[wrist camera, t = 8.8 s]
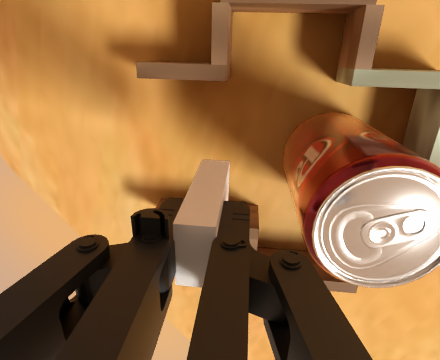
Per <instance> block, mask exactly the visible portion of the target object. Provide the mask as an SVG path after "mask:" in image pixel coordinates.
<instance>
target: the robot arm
mask: <svg viewBox="0 0 440 360" xmlns="http://www.w3.org/2000/svg"><path fill="white" fill-rule="evenodd" d="M229 170H230V161H223V160H206V159H202V161H201V163H200V166H199V168H198V170H197V172H196V174H195V176H194V179H193V181H192V183H191V185H190V187H189V190H188V192H187V194H186V196H185V198H184V199H182V198H168V199H167V200H165V201H164V202H162V203H161V205H160V207H159V209H156V208H150V209H143V210H140V211H138V212H135V213H134V214H133V215H132V216H131V223H132V232H133V237H132V239H131V240H130V242H128V243H123V244H116V245H109V242H108V240H107V238H106V237H104V236H102V235H86V236H83V237H80V238H78V239H76V240H74V241H72V242H71V243H70V244H68V245H67V246H65V247H64V248H63V249H61V250H60V251H59V252H57V253H56V254H54V255H53V256H52V257H50V258H49V259H48V260H46V261H45V262H43V263H42V264H41V265H39V266H38V267H37V268H35V269H34V270H32V271H31V272H30V273H28V274H27V275H26V276H25V277H23V278H22V279H20V280H19V281H18V282H16V283H15V284H13V285H12V286H11V287H9V288H8V289H6V290H5V291H4V292H2V293H1V294H0V360H151V359H152V356H153V353H154V350H155V347H156V344H157V341H158V337H159V334H160V331H161V328H162V325H163V322H164V319H165V316H166V313H167V310H168V307H169V304H170V301H171V297H172V282H173V279H174V276H175V284H176V285H182V286H192V287H202V291H201V296H200V301H199V305H198V310H197V314H196V319H195V324H194V328H193V333H192V337H191V342H190V347H189V352H188V356H187V360H247V355H248V312H249V313H251V314H254V315H256V316H259V317H261V318H263V320H264V325H265V329H266V332H267V335H268V338H269V341H270V344H271V347H272V351H273V354H274V357H275V360H372V358H371V356H370V355H369V353H368V352H367V350H366V348H365V347H364V345H363V344H362V342H361V340H360V339H359V337H358V336H357V334H356V333H355V331H354V329H353V328H352V326H351V325H350V323H349V321H348V320H347V318H346V317H345V315H344V313H343V312H342V310H341V309H340V307H339V305H338V304H337V302H336V301H335V299H334V297H333V296H332V294H331V293H330V291H329V290H328V288H327V286H326V285H325V283H324V282H323V280H322V278H321V277H320V275H319V274H318V272H317V270H316V269H315V267H314V266H313V264H312V262H311V261H310V260H309V259H308V258H307V257H306V256H305V255H304V254H302V253H300V252H298V251H294V250H288V249H283V250H278V251H276V252H274V253H273V254H272V255H271V257H270V256H267V255H264V254H262V253H259V252H258V251H256V250H255V249H254V248H253V247H252V246H251V244H250V241H249V233H250V207H249V206H248V205H247V203H246V202H236V201H228V194H229ZM75 290H76V296H75V297H73V298H72V299H70V300H69V299H68V296H69V295H71V294H72V293H73V292H74V291H75Z"/></svg>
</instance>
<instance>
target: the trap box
mask: <svg viewBox="0 0 440 360" xmlns="http://www.w3.org/2000/svg"><path fill="white" fill-rule="evenodd" d="M376 1H377V0H220V2H212V41H211V63H194V62H162V61H149V62H136V69H137V78H149V79H176V80H203V81H227V80H228V79H229V78H230V69H231V42H232V16H233V12H277V13H333V14H347V15H346V21H345V27H344V33H343V39H342V45H341V51H340V57H339V63H338V69H337V75H336V82H340V83H343V84H347V85H350V86H366V87H394V88H417V91H416V95H415V99H414V102H413V106H412V110H411V114H410V117H409V121H408V125H407V128H406V132H405V136H404V140H403V143H402V145H403V146H405V147H407V148H408V149H410V150H412V151H413V152H415V153H417V154H418V155H420V156H422V157H423V158H425V159H427V160H429V161H430V162H432V163H434V164H435V165H437V166H438V167H439V168H440V70H413V69H382V68H372V64H373V59H374V54H375V49H376V45H377V40H378V35H379V30H380V25H381V20H382V16H383V11H384V6H385V5H376ZM165 200H167V199H161V201H160V202H159V204H158V205H157V207H156V209H159V207H160V205H161V203H162V202H164V201H165ZM248 206H249V207H250V233H249V241H250V244H251V246H252V247H253V248H254V249H255V250H256V251H258V252H259V253H262V254H264V255H267V256H270V257H271V255H272V254H273V253H274V252H276V251H278V250H283V249H273V248H261V247H257V245H258V234H259V217H258V206H255V205H248ZM294 251H298V250H294ZM298 252H300V253H302V254H304V255H305V256H306V257H307V258H308V259H309V260H310V261H311V262H312V264H313V266H314V267H315V269H316V270H317V272H318V274H319V275H320V277H321V278H322V280H323V282H324V283H325V285H326V286H327V288H328V290H329V291H337V292H348V293H356V291H357V287H358V285H353V284H350V283H347V282H344V281H342V280H339V279H337V278H335V277H333V276H332V275H330V274H329V273H327V272H326V271H324V270H323V269H322V268H321V267H320V266H319V265H318V264H317V263H316V262H315V261H314V259H313V258H312V256H311V255H310V253H309V252H308V251H298Z"/></svg>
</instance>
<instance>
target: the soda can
mask: <svg viewBox="0 0 440 360" xmlns="http://www.w3.org/2000/svg"><path fill="white" fill-rule="evenodd" d="M283 165H284V171H285V174H286V178H287V181H288V185H289V188H290V192H291V195H292V199H293V203H294V206H295V210H296V213H297V217H298V220H299V224H300V227H301V231H302V235H303V238H304V241H305V244H306V247H307V250H308V252H309V253H310V255H311V256H312V258H313V259H314V261H315V262H316V263H317V264H318V265H319V266H320V267H321V268H322V269H323V270H324V271H326V272H327V273H329V274H330V275H332V276H333V277H335V278H337V279H339V280H342V281H344V282H347V283H350V284H353V285H358V286H362V287H370V288H386V287H394V286H399V285H403V284H407V283H409V282H412V281H414V280H417V279H419V278H421V277H423V276H425V275H426V274H428V273H430V272H431V271H433V270H434V269H435V268H436V267H438V266H439V265H440V168H439V167H438V166H437V165H435V164H434V163H432V162H430V161H429V160H427V159H425V158H423V157H422V156H420V155H418V154H417V153H415V152H413V151H412V150H410V149H408V148H407V147H405V146H403V145H401V144H400V143H398V142H396V141H395V140H393V139H391V138H390V137H388V136H386V135H385V134H383V133H381V132H379V131H378V130H376V129H374V128H373V127H371V126H369V125H368V124H366V123H364V122H362V121H361V120H359V119H357V118H355V117H353V116H351V115H348V114H343V113H324V114H320V115H317V116H314V117H311V118H310V119H308V120H306V121H305V122H303V123H302V124H301V125H300V126H298V127H297V128H296V129H295V130H294V132H293V133H292V134H291V135H290V137H289V139H288V141H287V143H286V146H285V149H284V153H283Z"/></svg>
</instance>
